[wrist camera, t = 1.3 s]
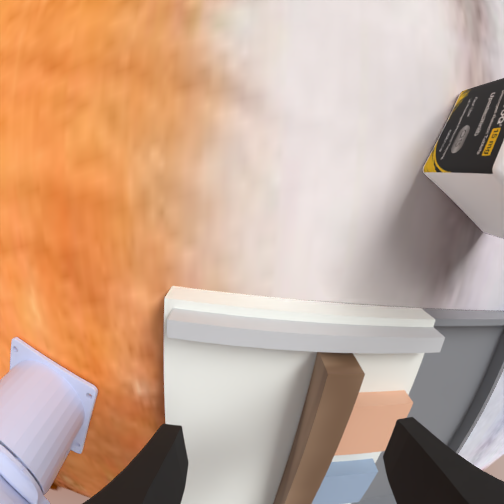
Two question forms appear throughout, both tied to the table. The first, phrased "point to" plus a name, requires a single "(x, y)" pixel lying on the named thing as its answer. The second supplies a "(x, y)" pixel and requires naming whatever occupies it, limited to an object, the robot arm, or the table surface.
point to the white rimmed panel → (269, 378)
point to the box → (452, 383)
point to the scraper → (320, 425)
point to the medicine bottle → (473, 156)
